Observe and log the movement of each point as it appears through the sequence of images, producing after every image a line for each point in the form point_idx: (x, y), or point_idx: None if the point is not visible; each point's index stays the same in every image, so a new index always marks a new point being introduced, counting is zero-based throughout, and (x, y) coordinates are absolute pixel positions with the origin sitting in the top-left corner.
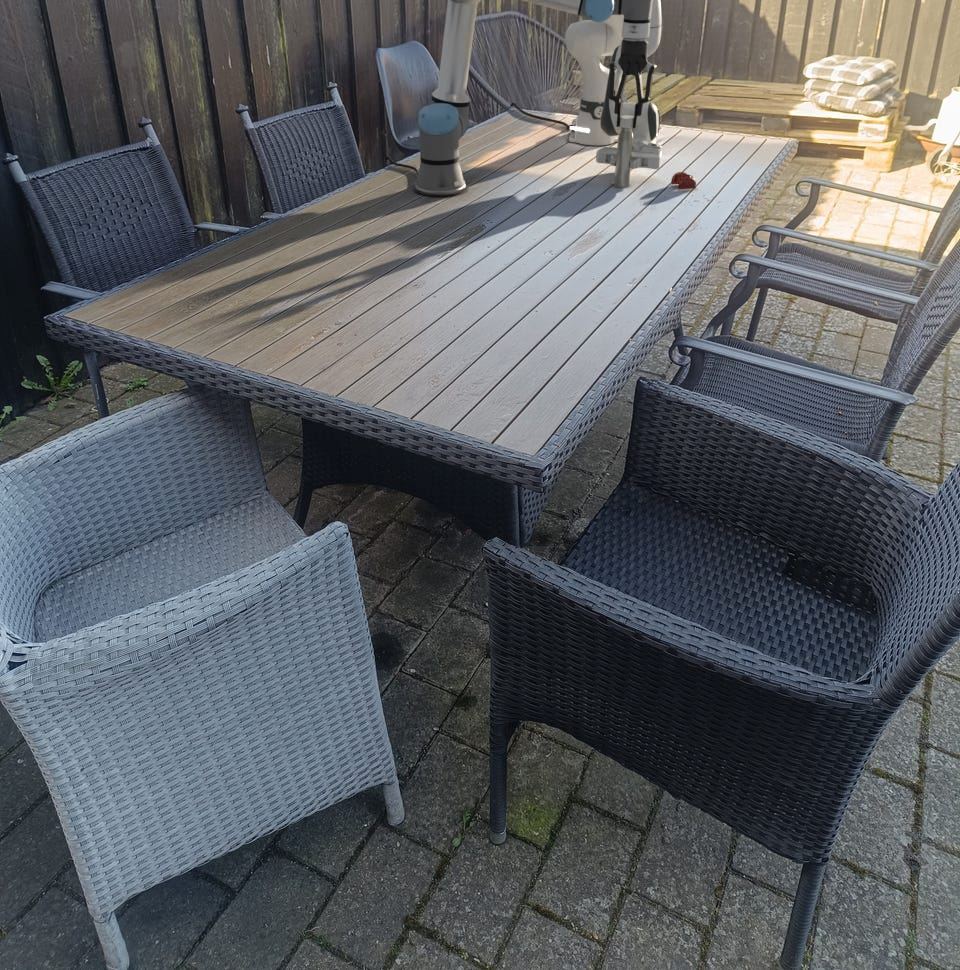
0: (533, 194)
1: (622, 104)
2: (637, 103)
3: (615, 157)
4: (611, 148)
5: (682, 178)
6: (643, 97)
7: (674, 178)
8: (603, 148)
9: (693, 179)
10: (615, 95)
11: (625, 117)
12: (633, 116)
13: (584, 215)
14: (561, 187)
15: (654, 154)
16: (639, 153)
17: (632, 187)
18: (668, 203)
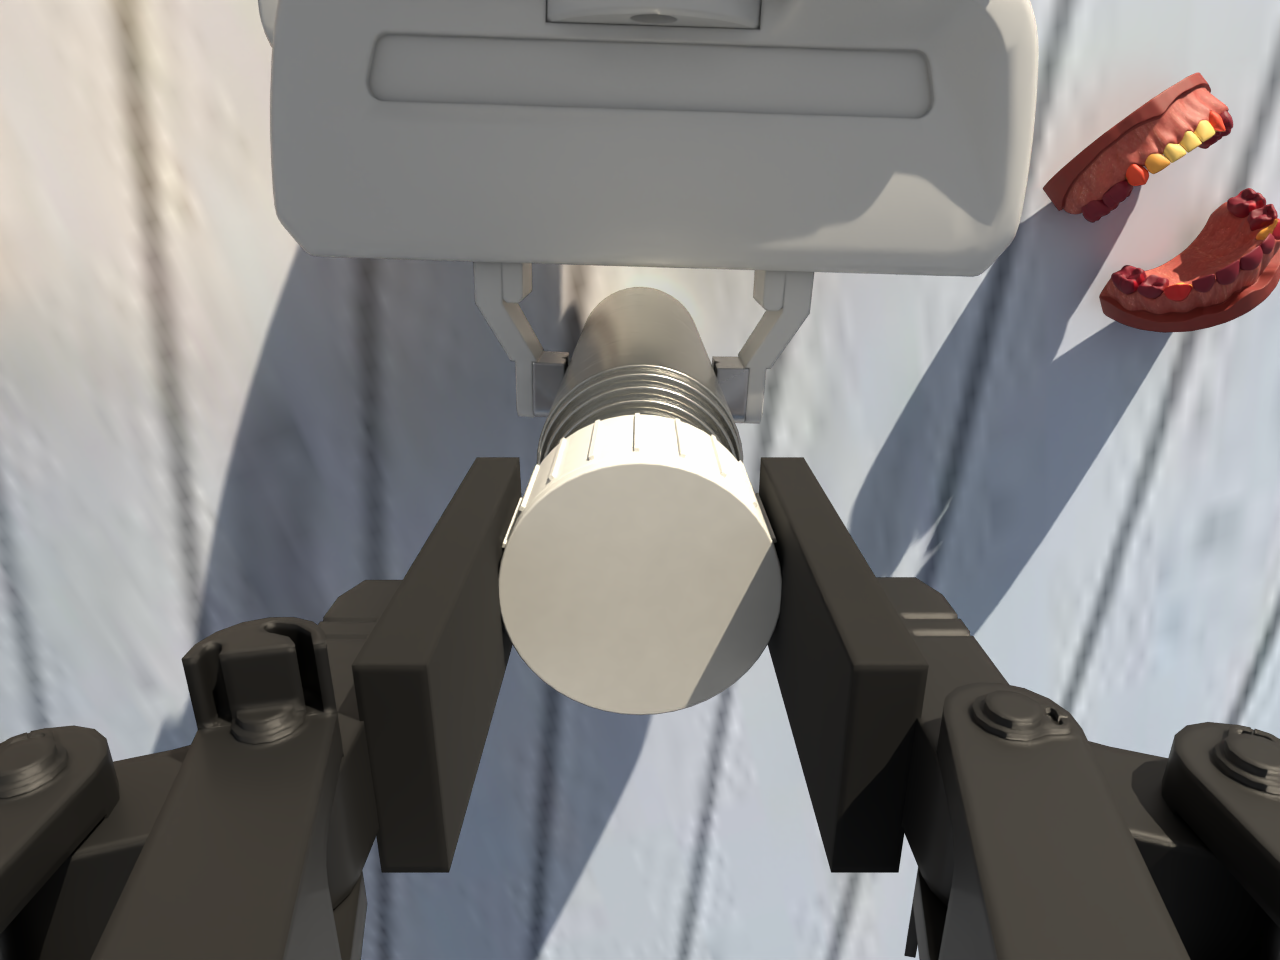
0: (155, 739)
1: (446, 664)
2: (873, 752)
3: (524, 281)
4: (391, 33)
5: (1177, 305)
6: (1110, 797)
7: (1093, 209)
8: (307, 96)
9: (1275, 286)
10: (110, 849)
11: (606, 642)
12: (737, 512)
13: (581, 952)
14: (244, 547)
15: (951, 153)
16: (772, 171)
17: None
18: (1026, 631)
